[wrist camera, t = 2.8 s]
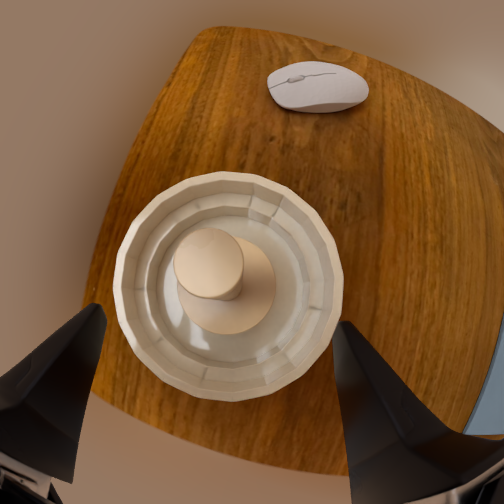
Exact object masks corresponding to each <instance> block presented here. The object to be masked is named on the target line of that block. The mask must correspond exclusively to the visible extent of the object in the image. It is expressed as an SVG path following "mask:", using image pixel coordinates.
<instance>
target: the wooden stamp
mask: <svg viewBox="0 0 504 504" xmlns="http://www.w3.org/2000/svg"><path fill="white" fill-rule="evenodd" d="M173 268H174V273H175V276H176V278H177V293H178V298H179V301H180V304H181V306H182V308H183V310H184V312H185V313H186V315H187V316H188V317H189V318H190V319H191V320H192V321H193V322H194V323H195V324H196V325H198V326H199V327H201V328H202V329H204V330H206V331H209V332H211V333H215V334H221V335H233V334H238V333H242V332H245V331H247V330H249V329H251V328H253V327H254V326H256V325H257V324H258V323H259V322H261V321H262V319H263V318H264V317H265V316H266V315H267V313H268V312H269V310H270V308H271V306H272V304H273V301H274V298H275V294H276V277H275V273H274V270H273V267H272V265H271V262H270V261H269V259H268V257H267V256H266V255H265V254H264V252H263V251H262V250H261V249H260V248H258V247H257V246H256V245H254V244H253V243H251V242H250V241H248V240H245V239H243V238H239V237H235V236H231V235H230V234H229V233H227V232H225V231H223V230H220V229H217V228H202V229H198V230H195V231H193V232H191V233H190V234H188V235H187V236H186V237H185V238H184V239H183V240H182V241H181V242H180V243H179V245H178V247H177V249H176V251H175V254H174V260H173Z"/></svg>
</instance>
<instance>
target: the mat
mask: <svg viewBox="0 0 504 504" xmlns="http://www.w3.org/2000/svg"><path fill="white" fill-rule="evenodd" d="M462 433H463V434H466V435H494V434H504V314H503V319H502V324H501V328H500V333H499V337H498V341H497V344H496V348H495V352H494V355H493V358H492V362H491V365H490V368H489V371H488V374H487V377H486V379H485V382H484V385H483V388H482V390H481V393H480V395H479V398H478V400H477V402H476V405H475V407H474V409H473V412H472V414H471V416H470V418H469V420H468V422H467V424H466V426H465V428H464V430H463V432H462Z"/></svg>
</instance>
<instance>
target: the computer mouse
mask: <svg viewBox="0 0 504 504" xmlns="http://www.w3.org/2000/svg"><path fill="white" fill-rule="evenodd" d="M267 83H268V88H269V91H270V93H271V95H272V97H273V99H274V100H275V101H276V103H277V104H279V105H280V106H281V107H283V108H286V109H290V110H294V111H300V112H312V113H327V112H336V111H341V110H344V109H347V108H350V107H352V106H355V105H357V104H359V103H361V102H362V101H364V100H365V99H366V98H367V96H368V92H369V89H368V85H367V83H366V81H365V80H364V79H363V78H362V77H360V76H359V75H358V74H356V73H355V72H353V71H351V70H349V69H347V68H344V67H341V66H338V65H334V64H330V63H324V62H313V61H310V62H300V63H295V64H292V65H288V66H286V67H283V68H281V69H278V70H276V71H275V72H273V73H271V74H270V75H269V77H268V81H267Z"/></svg>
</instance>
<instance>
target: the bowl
mask: <svg viewBox="0 0 504 504" xmlns="http://www.w3.org/2000/svg"><path fill="white" fill-rule="evenodd" d="M202 228H217V229H220V230H223V231H225V232H227V233H229V234H230V235H231V236H235V237H239V238H243V239H245V240H248V241H250V242H251V243H253V244H254V245H256V246H257V247H258V248H260V249H261V250H262V251H263V252H264V254H265V255H266V256H267V257H268V259H269V261H270V262H271V265H272V267H273V270H274V273H275V277H276V294H275V298H274V301H273V304H272V306H271V308H270V310H269V312H268V313H267V315H266V316H265V317H264V318H263V319H262V321H261V322H259V323H258V324H257V325H256V326H254V327H253V328H251V329H249V330H247V331H245V332H242V333H238V334H233V335H221V334H215V333H211V332H209V331H206V330H204V329H202V328H201V327H199V326H198V325H196V324H195V323H194V322H193V321H192V320H191V319H190V318H189V317H188V316H187V315H186V313H185V312H184V310H183V308H182V306H181V304H180V301H179V298H178V293H177V278H176V276H175V273H174V268H173V260H174V254H175V251H176V249H177V247H178V245H179V243H180V242H181V241H182V240H183V239H184V238H185V237H186V236H187V235H188V234H190V233H191V232H193V231H195V230H198V229H202ZM343 282H344V277H343V271H342V267H341V263H340V259H339V255H338V251H337V248H336V244H335V242H334V239H333V237H332V236H331V234H330V232H329V231H328V229H327V228H326V226H325V224H324V223H323V221H322V220H321V218H320V217H319V215H318V213H317V212H316V211H315V210H314V209H313V208H312V207H311V206H309V205H308V204H307V203H306V202H305V201H303V200H302V199H301V198H300V197H299V196H298V195H296V194H295V193H294V192H293V191H291V190H290V189H288V188H287V187H285V186H283V185H280V184H278V183H275V182H273V181H271V180H268V179H266V178H263V177H261V176H258V175H255V174H246V173H235V172H223V171H222V172H216V173H211V174H206V175H201V176H197V177H192V178H188V179H186V180H184V181H182V182H180V183H178V184H176V185H175V186H173V187H171V188H169V189H168V190H166V191H164V192H162V193H161V194H159V195H158V196H156V197H155V198H154V199H153V200H152V201H151V202H150V203H149V204H148V205H147V207H146V208H145V209H144V210H143V211H142V212H141V213H140V214H139V215H138V216H137V217H136V218H135V219H134V221H133V222H132V224H131V226H130V228H129V230H128V232H127V234H126V236H125V238H124V240H123V242H122V244H121V247H120V249H119V251H118V254H117V260H116V267H115V274H114V281H113V293H114V300H115V306H116V311H117V317H118V322H119V324H120V327H121V328H122V330H123V332H124V334H125V336H126V338H127V340H128V342H129V344H130V346H131V348H132V349H133V351H134V353H135V355H137V357H138V358H139V359H140V360H141V361H142V362H143V363H144V364H145V365H146V366H147V367H148V368H149V369H150V370H151V371H152V372H153V373H154V374H155V375H156V376H157V377H159V378H160V379H161V380H162V381H163V382H165V383H167V384H169V385H171V386H173V387H175V388H177V389H179V390H181V391H184V392H186V393H188V394H190V395H192V396H194V397H197V398H204V399H212V400H220V401H229V402H233V401H234V402H236V401H241V400H246V399H251V398H256V397H261V396H265V395H269V394H272V393H274V392H275V391H277V390H279V389H281V388H282V387H284V386H286V385H288V384H289V383H291V382H293V381H294V380H296V379H298V378H299V377H301V376H302V375H303V374H304V373H305V372H306V371H307V370H308V369H309V368H310V367H311V366H312V364H313V363H314V362H315V361H316V360H317V359H318V357H319V356H320V355H321V354H322V353H323V352H324V350H325V349H326V348H327V347H328V345H329V342H330V340H331V337H332V335H333V333H334V330H335V328H336V325H337V323H338V320H339V318H340V315H341V311H342V298H343Z"/></svg>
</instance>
